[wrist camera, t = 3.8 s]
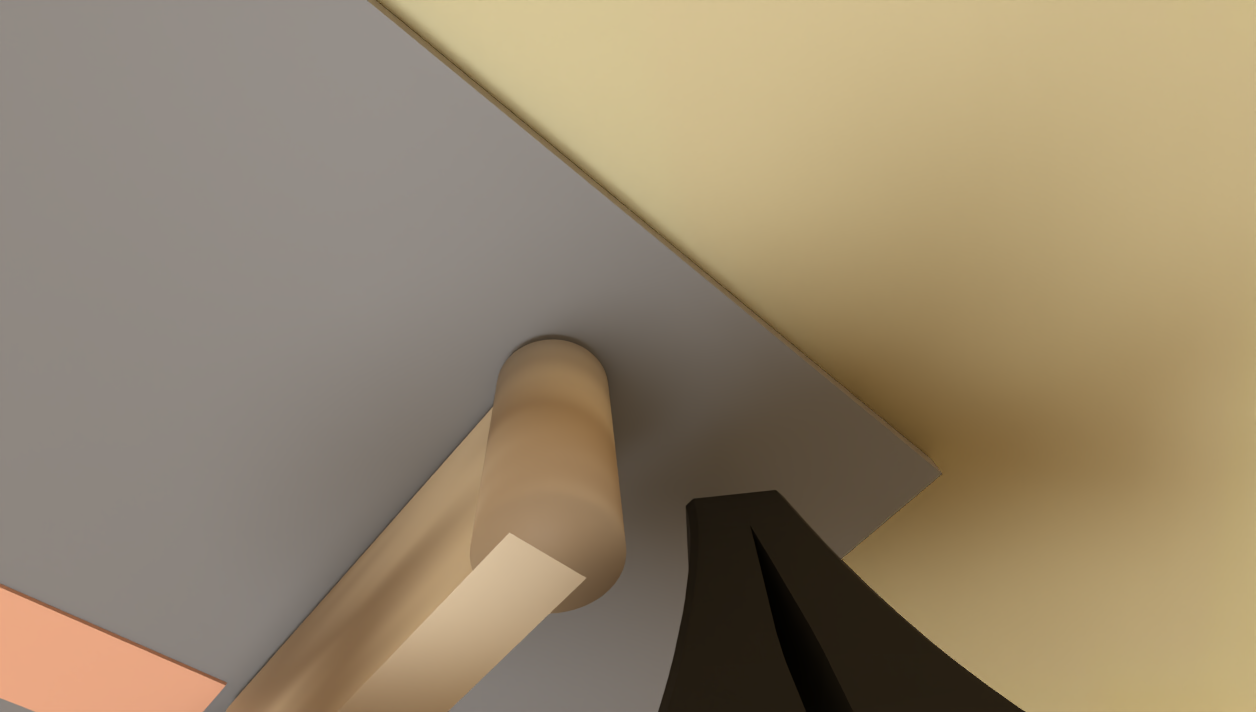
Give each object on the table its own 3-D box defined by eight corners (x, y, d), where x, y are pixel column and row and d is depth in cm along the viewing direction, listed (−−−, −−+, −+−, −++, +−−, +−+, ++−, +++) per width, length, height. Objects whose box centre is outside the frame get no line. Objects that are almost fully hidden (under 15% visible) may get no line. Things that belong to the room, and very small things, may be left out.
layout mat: (931, 459, 13) (943, 476, 12) (225, 1064, 20) (218, 1087, 19) (-358, -607, 7) (-421, -645, 6) (-716, 827, 14) (-754, 853, 13)
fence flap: (295, 736, 14) (215, 961, 11) (211, 701, 13) (102, 926, 10) (631, 381, 11) (658, 543, 8) (543, 318, 10) (534, 465, 7)
